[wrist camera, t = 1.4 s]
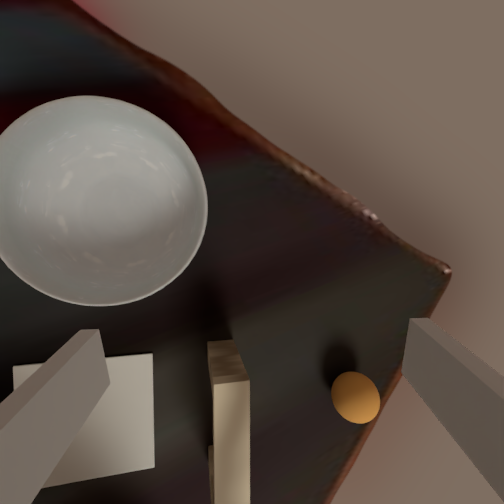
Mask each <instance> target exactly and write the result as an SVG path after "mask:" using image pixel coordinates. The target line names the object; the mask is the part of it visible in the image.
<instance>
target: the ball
mask: <svg viewBox="0 0 504 504" xmlns="http://www.w3.org/2000/svg"><path fill="white" fill-rule="evenodd" d="M331 397H332V401H333V404H334V406H335V408H336V410H337V411H338V412H339V413H340V415H341V416H343V417H344V418H345V419H347V420H349V421H351V422H354V423H366V422H369V421H370V420H372V419H373V418H374V417H375V416H376V414H377V413H378V410H379V407H380V398H379V393H378V391H377V388H376V387H375V385H374V384H373V382H372V381H371V380H370V379H369V378H368V377H366V376H365V375H363V374H361V373H358V372H345V373H342V374H340V375H339V376H338V377H337V378H336V379H335V381H334V382H333V385H332V389H331Z"/></svg>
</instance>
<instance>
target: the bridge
mask: <svg viewBox="0 0 504 504" xmlns="http://www.w3.org/2000/svg"><path fill="white" fill-rule="evenodd" d="M207 349H208V366H209V374H210V382H211V390H212V397H213V445H211V446H208V463H209V477H210V491H211V504H250V380H249V377H248V375H247V372H246V370H245V367H244V365H243V362H242V360H241V358H240V355H239V353H238V350H237V348H236V345H235V343H234V340H222V341H210V342H207Z"/></svg>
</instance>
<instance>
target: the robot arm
mask: <svg viewBox="0 0 504 504" xmlns="http://www.w3.org/2000/svg"><path fill="white" fill-rule="evenodd" d="M401 373H402V374H403V375H404V377H405V378H406V379H407V380H408V382H409V383H410V384H411V385H412V387H413V388H414V389H415V390H416V392H417V393H418V394H419V395H420V397H421V398H422V399H423V400H424V402H425V403H426V404H427V406H428V407H429V408H430V409H431V411H432V412H433V413H434V414H435V416H436V417H437V418H438V420H439V421H440V422H441V423H442V424H443V426H444V427H445V428H446V430H447V431H448V432H449V433H450V435H451V436H452V437H453V438H454V440H455V441H456V442H457V443H458V445H459V446H460V447H461V449H462V450H463V451H464V452H465V454H466V455H467V456H468V457H469V459H470V460H471V461H472V462H473V464H474V465H475V466H476V467H477V468H478V470H479V471H480V473H481V474H482V475H483V476H484V477H485V479H486V480H487V481H488V483H489V484H490V485H491V486H492V488H493V489H494V490H495V491H496V493H497V494H498V495H499V497H500V498H501V499H502V500H503V502H504V377H503V376H502V375H500V374H499V373H498V372H497V371H495V370H494V369H493V368H492V367H490V366H489V365H488V364H486V363H485V362H484V361H483V360H481V359H480V358H479V357H477V356H476V355H475V354H474V353H472V352H471V351H470V350H468V349H467V348H466V347H464V346H463V345H462V344H461V343H459V342H458V341H457V340H456V339H454V338H453V337H452V336H450V335H449V334H448V333H447V332H445V331H444V330H443V329H441V328H440V327H439V326H437V325H436V324H435V323H434V322H432V321H431V320H430V319H429V318H411V319H410V321H409V327H408V334H407V340H406V346H405V352H404V359H403V365H402V371H401ZM109 385H110V378H109V374H108V369H107V365H106V360H105V355H104V351H103V346H102V341H101V337H100V332H99V329H92V330H80V331H79V332H78V333H77V334H75V335H74V336H73V337H72V338H71V339H70V340H69V341H68V342H67V343H66V344H65V345H63V346H62V347H61V348H60V349H59V350H58V351H57V352H56V353H55V354H54V355H53V356H52V357H50V358H49V359H48V360H47V361H46V362H45V363H44V364H43V365H42V366H41V367H40V368H38V369H37V370H36V371H35V372H34V373H33V374H32V375H31V376H30V377H29V378H28V379H27V380H25V381H24V382H23V383H22V384H21V385H20V386H19V387H18V388H17V389H16V390H15V391H13V392H12V393H11V394H10V395H9V396H8V397H7V398H6V399H5V400H4V401H3V402H2V403H0V504H31V503H32V502H33V500H34V499H35V497H36V496H37V494H38V493H39V491H40V489H41V488H42V486H43V485H44V483H45V482H46V480H47V479H48V477H49V476H50V474H51V473H52V471H53V470H54V468H55V467H56V465H57V464H58V462H59V461H60V459H61V458H62V456H63V455H64V453H65V452H66V450H67V449H68V447H69V446H70V444H71V442H72V441H73V439H74V438H75V436H76V435H77V433H78V432H79V430H80V429H81V427H82V426H83V424H84V423H85V421H86V420H87V418H88V417H89V415H90V414H91V412H92V411H93V409H94V408H95V406H96V405H97V403H98V402H99V400H100V399H101V397H102V395H103V394H104V392H105V391H106V389H107V388H108V386H109Z"/></svg>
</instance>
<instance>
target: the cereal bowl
mask: <svg viewBox="0 0 504 504" xmlns="http://www.w3.org/2000/svg"><path fill="white" fill-rule="evenodd" d="M207 200H208V198H207V192H206V186H205V183H204V179H203V176H202V173H201V170H200V168H199V165H198V163H197V161H196V159H195V157H194V155H193V154H192V152H191V150H190V149H189V147H188V146H187V144H186V143H185V142H184V141H183V139H182V138H181V137H180V136H179V135H178V134H177V133H176V132H175V131H174V130H173V129H172V128H171V127H170V126H169V125H168V124H167V123H165V122H164V121H163V120H161V119H160V118H158V117H157V116H155V115H154V114H152V113H150V112H149V111H147V110H145V109H143V108H140V107H138V106H136V105H133V104H130V103H127V102H124V101H121V100H117V99H113V98H108V97H101V96H73V97H66V98H62V99H57V100H54V101H51V102H47V103H45V104H42V105H40V106H38V107H35V108H34V109H32V110H30V111H28V112H27V113H25V114H24V115H22V116H21V117H19V118H18V119H17V120H15V121H14V122H13V123H12V124H11V125H10V126H9V127H8V128H7V129H6V130H5V131H4V132H3V133H2V134H1V135H0V258H1V259H2V260H3V261H4V263H5V264H6V265H7V266H8V267H9V268H10V269H11V270H12V271H13V272H14V273H15V274H16V275H17V276H18V277H19V278H21V279H22V280H23V281H24V282H26V283H27V284H29V285H30V286H32V287H33V288H35V289H36V290H38V291H40V292H42V293H44V294H46V295H48V296H51V297H53V298H56V299H59V300H62V301H65V302H69V303H73V304H79V305H86V306H111V305H120V304H125V303H130V302H133V301H137V300H140V299H143V298H145V297H147V296H150V295H152V294H154V293H155V292H157V291H159V290H161V289H163V288H164V287H165V286H166V285H168V284H169V283H171V282H172V281H173V280H174V279H175V278H176V277H178V275H180V274H181V273H182V272H183V270H184V269H185V268H186V267H187V266H188V265H189V263H190V262H191V260H192V259H193V257H194V256H195V254H196V252H197V250H198V248H199V246H200V245H201V241H202V238H203V236H204V233H205V228H206V224H207V213H208V202H207Z"/></svg>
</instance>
